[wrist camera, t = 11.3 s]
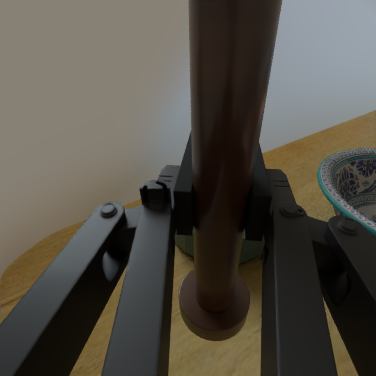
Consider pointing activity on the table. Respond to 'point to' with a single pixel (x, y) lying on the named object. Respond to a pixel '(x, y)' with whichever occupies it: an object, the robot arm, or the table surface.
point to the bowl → (351, 185)
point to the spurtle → (224, 152)
